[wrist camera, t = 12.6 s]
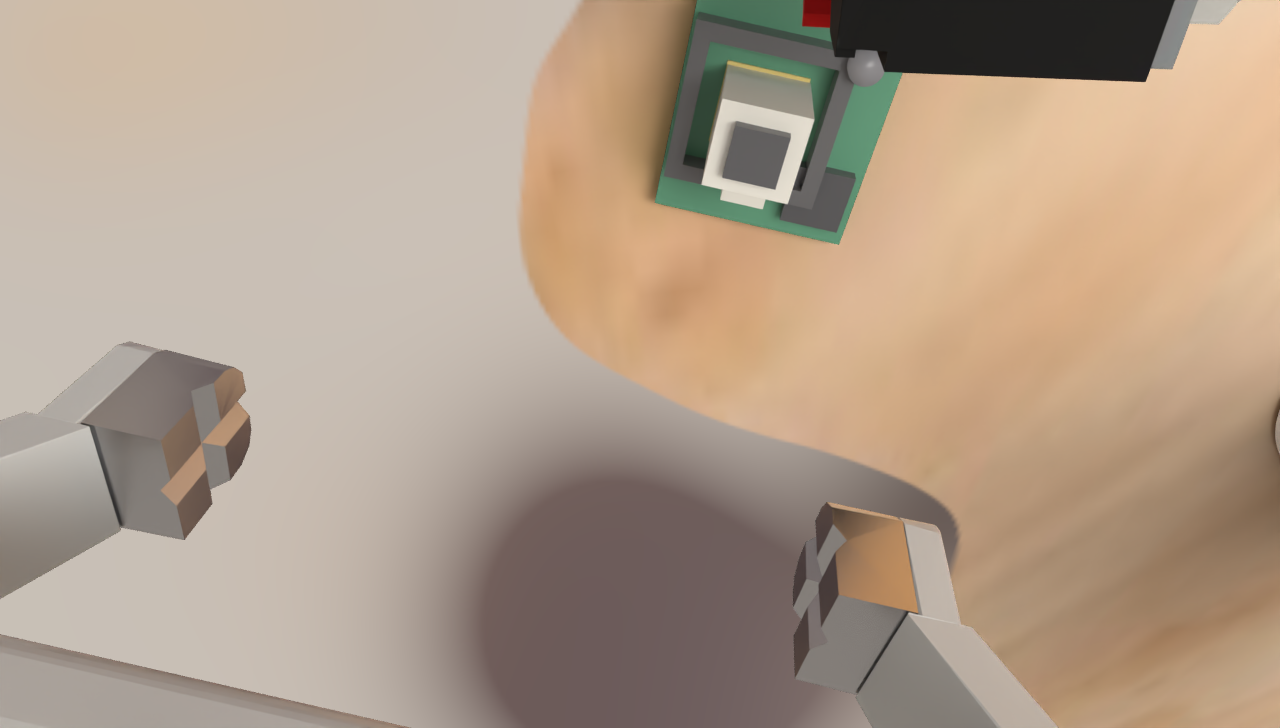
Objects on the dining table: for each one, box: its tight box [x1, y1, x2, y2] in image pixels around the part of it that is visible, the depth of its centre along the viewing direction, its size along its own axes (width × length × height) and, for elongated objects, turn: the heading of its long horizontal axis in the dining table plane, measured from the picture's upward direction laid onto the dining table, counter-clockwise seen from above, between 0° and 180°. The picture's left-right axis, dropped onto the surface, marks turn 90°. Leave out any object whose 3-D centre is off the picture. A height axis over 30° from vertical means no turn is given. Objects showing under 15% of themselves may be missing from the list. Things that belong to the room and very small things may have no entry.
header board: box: [655, 0, 902, 245], centre depth 40 cm, size 10×12×3 cm
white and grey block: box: [701, 64, 815, 209], centre depth 38 cm, size 4×5×6 cm
